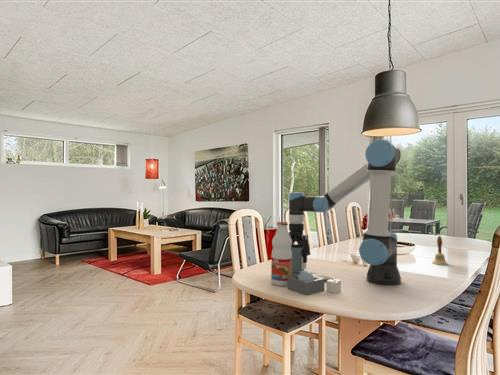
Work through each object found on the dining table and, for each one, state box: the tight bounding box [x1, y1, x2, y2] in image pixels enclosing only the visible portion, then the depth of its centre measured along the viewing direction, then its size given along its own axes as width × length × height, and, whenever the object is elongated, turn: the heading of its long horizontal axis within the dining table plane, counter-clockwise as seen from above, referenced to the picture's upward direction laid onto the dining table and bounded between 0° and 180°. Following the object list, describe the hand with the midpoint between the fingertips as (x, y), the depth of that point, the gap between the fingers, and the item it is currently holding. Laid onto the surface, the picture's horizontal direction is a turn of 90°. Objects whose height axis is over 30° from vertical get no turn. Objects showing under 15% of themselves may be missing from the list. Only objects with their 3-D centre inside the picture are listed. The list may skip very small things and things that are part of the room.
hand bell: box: [431, 235, 449, 266], centre depth 200 cm, size 8×8×16 cm
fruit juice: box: [270, 221, 292, 287], centre depth 158 cm, size 9×9×28 cm
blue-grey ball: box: [298, 270, 314, 282], centre depth 149 cm, size 7×7×7 cm
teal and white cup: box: [291, 243, 305, 272], centre depth 174 cm, size 10×10×12 cm
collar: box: [287, 275, 325, 296], centre depth 149 cm, size 11×11×5 cm
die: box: [326, 278, 342, 294], centre depth 147 cm, size 4×4×5 cm
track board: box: [292, 271, 334, 283], centre depth 170 cm, size 24×13×1 cm, turn 37°
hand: (296, 267), depth 174 cm, fingers closed on teal and white cup, 10 cm apart
